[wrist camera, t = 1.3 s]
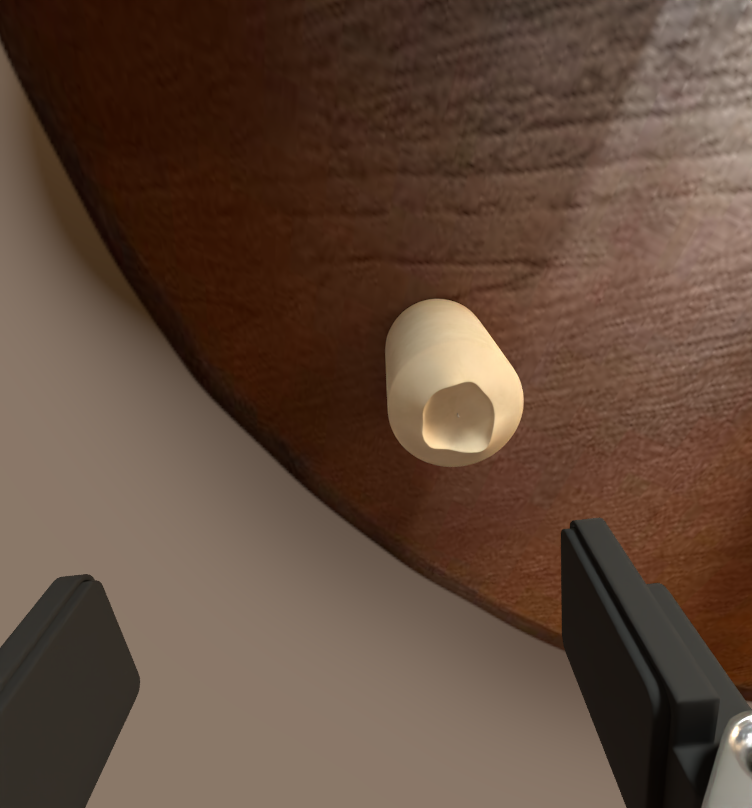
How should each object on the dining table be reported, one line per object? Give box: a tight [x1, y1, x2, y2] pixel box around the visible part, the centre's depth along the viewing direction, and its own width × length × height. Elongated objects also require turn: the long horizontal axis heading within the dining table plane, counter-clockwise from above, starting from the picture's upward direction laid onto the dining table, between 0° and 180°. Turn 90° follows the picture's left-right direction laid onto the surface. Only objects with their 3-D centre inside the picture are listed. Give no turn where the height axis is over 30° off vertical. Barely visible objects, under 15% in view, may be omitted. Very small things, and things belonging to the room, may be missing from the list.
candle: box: [385, 299, 524, 467], centre depth 26 cm, size 6×6×10 cm
